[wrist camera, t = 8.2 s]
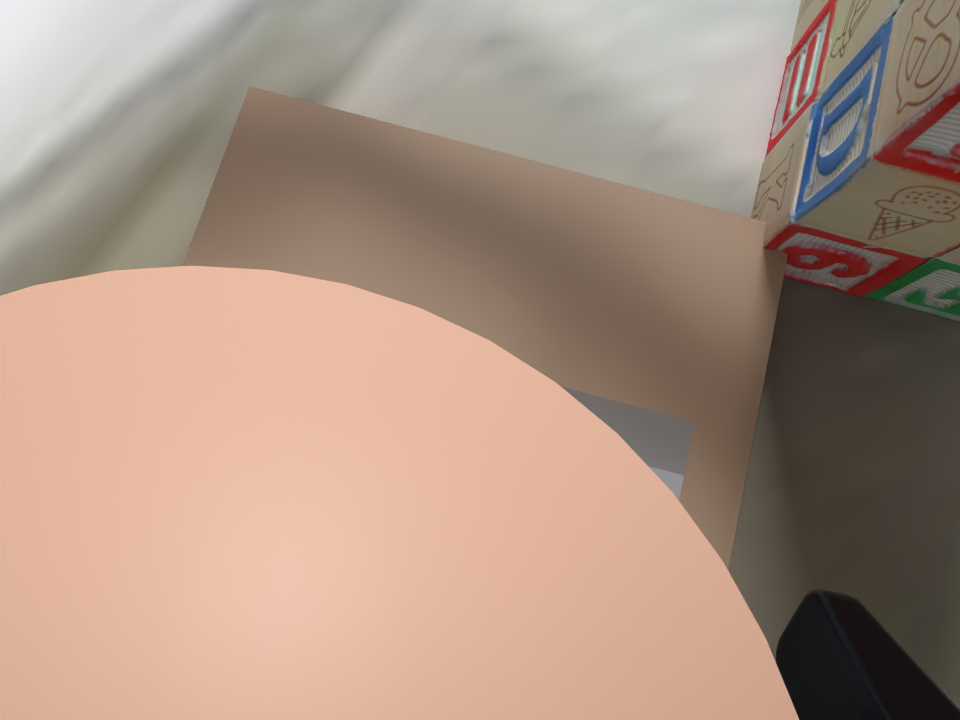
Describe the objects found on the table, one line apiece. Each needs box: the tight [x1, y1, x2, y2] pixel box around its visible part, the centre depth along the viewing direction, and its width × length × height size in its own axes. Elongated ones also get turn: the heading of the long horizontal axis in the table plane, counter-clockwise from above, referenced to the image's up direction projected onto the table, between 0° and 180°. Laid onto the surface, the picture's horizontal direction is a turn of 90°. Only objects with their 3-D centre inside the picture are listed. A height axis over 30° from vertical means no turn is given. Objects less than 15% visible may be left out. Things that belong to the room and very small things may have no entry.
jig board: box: [183, 87, 788, 571], centre depth 15 cm, size 20×13×4 cm, turn 165°
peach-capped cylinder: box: [0, 266, 799, 720], centre depth 9 cm, size 5×5×13 cm
